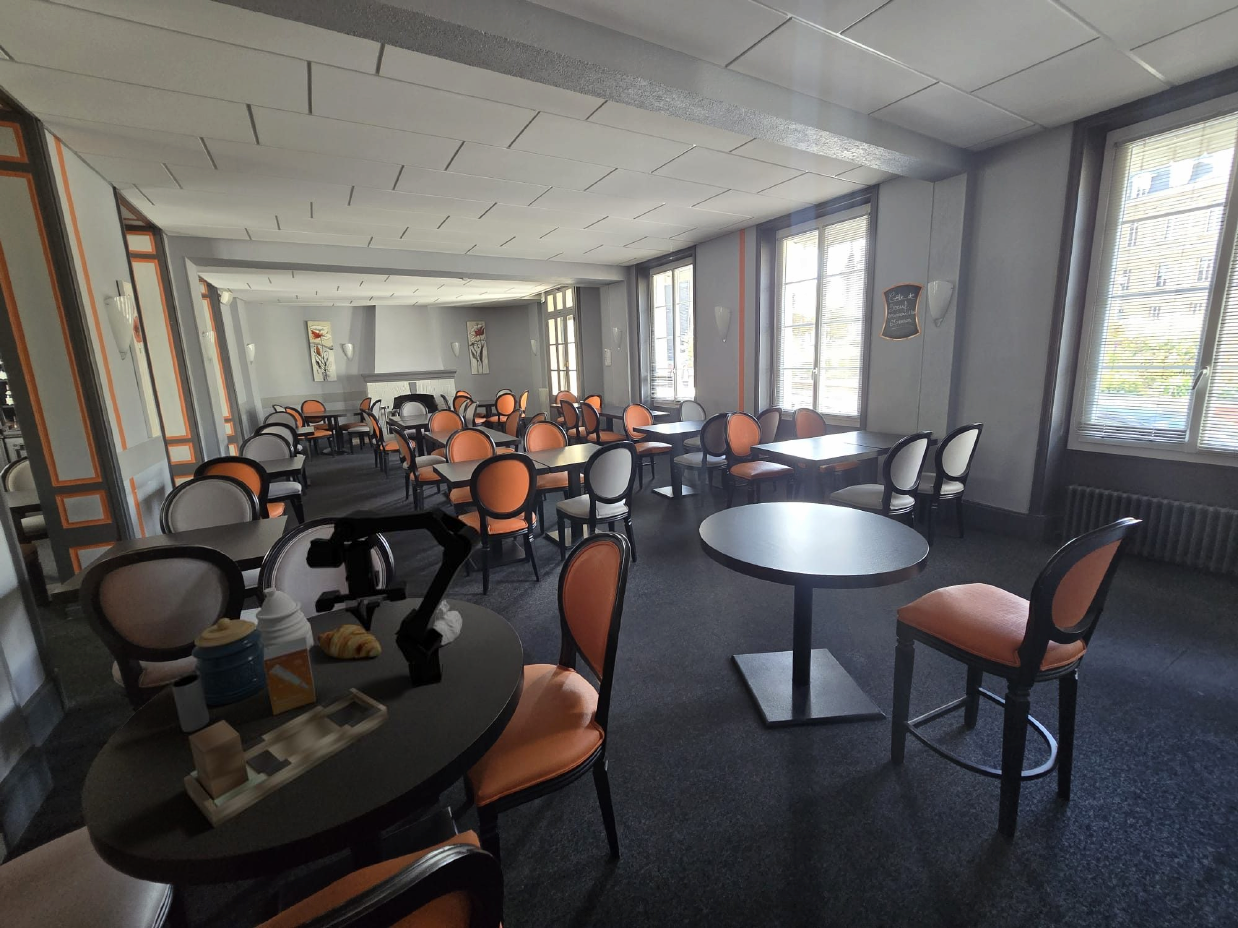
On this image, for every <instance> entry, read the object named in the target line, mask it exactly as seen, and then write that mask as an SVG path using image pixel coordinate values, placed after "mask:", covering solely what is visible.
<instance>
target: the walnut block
mask: <svg viewBox="0 0 1238 928" xmlns="http://www.w3.org/2000/svg"><path fill="white" fill-rule="evenodd" d="M188 740H189V744H190V749H191V752H192V757H193V761H194V765H195V771H196V770H197V774H198V779H199V783H200V786H201V787H202V788H203V790H204V791H205V792H206V793H207V794H208V796H209V797H210V798H211V799H212V800H213V801H214V800H216V799H218V798H219V797H221V796H223V795H225V794H226V793H228V792H230V791H231V790H233V789H235V788H237V787H238V786H240V785H242V784H243V783H245V782H247V781H249V777H248V773H247V768H246V763H245V759H244V754H243V749H242V746H243V744H242V740H241V735H240V733H239V732H237V731H236V730H235V729H234V728H233V727H232V726H231V725H230V724H229V723H228V722H227V721H226V720H225V719H222V720H221V721H218V722H216V723H214V724H212V725H210V726H207V727H205V728H204V729H202V730H200V731H197V732H196V733H194V734H191V735H189V736H188Z"/></svg>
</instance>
